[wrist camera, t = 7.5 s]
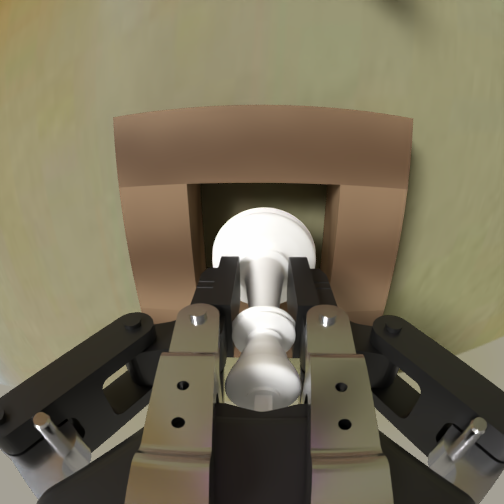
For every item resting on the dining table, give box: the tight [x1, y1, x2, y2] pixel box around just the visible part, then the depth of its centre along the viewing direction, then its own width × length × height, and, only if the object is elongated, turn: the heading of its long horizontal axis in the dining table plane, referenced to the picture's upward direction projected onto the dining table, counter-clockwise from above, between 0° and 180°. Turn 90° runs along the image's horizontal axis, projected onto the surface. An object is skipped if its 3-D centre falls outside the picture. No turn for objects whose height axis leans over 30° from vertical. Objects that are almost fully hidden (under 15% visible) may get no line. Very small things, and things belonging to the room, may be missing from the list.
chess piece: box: [212, 207, 316, 412], centre depth 10 cm, size 5×5×10 cm
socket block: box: [113, 105, 413, 358], centre depth 16 cm, size 14×14×3 cm
